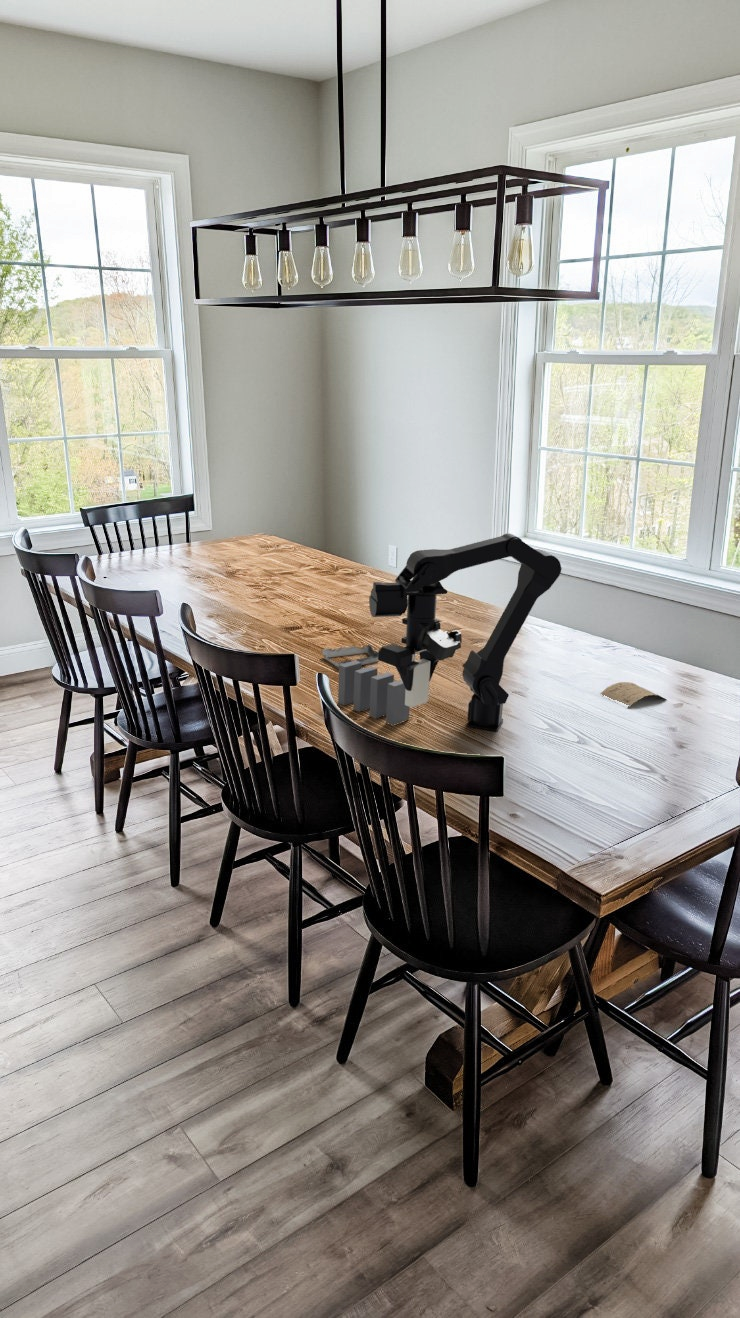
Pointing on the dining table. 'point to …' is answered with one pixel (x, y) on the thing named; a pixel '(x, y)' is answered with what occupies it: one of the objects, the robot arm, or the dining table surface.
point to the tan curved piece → (626, 692)
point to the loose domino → (419, 685)
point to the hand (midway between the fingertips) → (417, 687)
